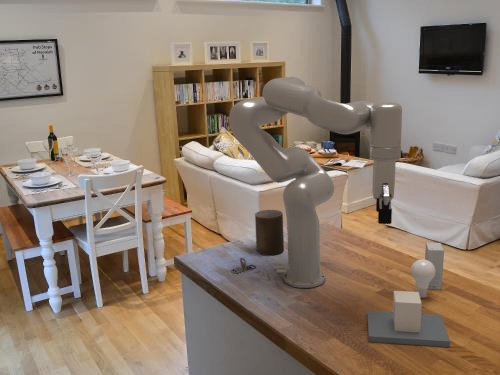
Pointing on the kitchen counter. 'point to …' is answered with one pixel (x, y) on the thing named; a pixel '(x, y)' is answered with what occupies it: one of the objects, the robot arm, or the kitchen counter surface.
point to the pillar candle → (269, 232)
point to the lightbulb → (422, 275)
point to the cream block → (407, 311)
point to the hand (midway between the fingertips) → (383, 217)
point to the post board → (428, 336)
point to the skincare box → (435, 263)
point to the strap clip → (244, 267)
